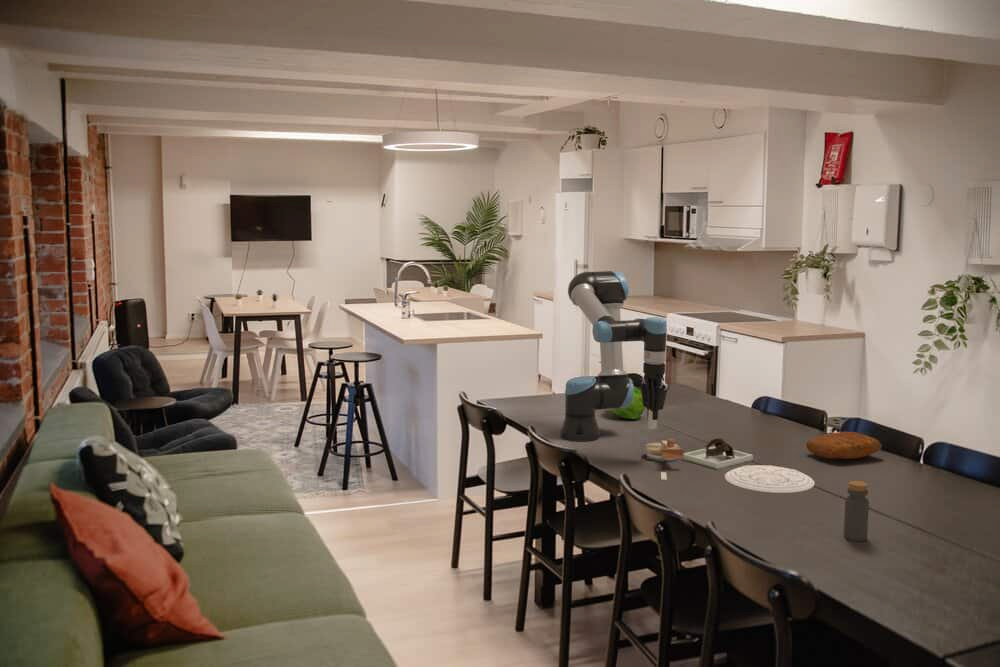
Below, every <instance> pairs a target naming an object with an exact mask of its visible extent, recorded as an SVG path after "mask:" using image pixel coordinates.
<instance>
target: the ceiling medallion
mask: <svg viewBox="0 0 1000 667" xmlns="http://www.w3.org/2000/svg"><path fill="white" fill-rule="evenodd" d="M724 479H725V480H726V481H727V482H728V483H729V484H732V485H733V486H736V487H739V488H742V489H745V490H748V491H754V492H760V493H761V492H762V493H769V494H770V493H772V494H792V493H794V494H795V493H801V492H805V491H809V490H810V489H813V488H814V486H815V480H814V479H813V478H812V477H811V476H809V475H807V474H805V473H803V472H801V471H799V470H797V469H793V468H787V467H782V466H775V465H771V464H768V465H764V464H763V465H757V464H754V465H748V464H747V465H742V466H740V467H736V468H733V469H731V470H728V472H726V473H725V474H724Z"/></svg>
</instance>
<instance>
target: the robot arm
mask: <svg viewBox="0 0 1000 667" xmlns="http://www.w3.org/2000/svg"><path fill="white" fill-rule="evenodd" d="M567 295H568V298H569V300H570V301H571V302H572V304H573V305H575V306H577V307H579V310H581V312H582V313H583V314H584V316H585V317H586V318H587V320H588V321H589V322H590V323H591V325H592V336H593V340H594V341H595V342H596V343H599V350H600V353H599V354H600V365H601V369H600V372H599V373H598V374H597V379H596V377H595V376H593V375H592V376H591V375H587V376H585V375H583V376H575V377H573V378H570V379H569V380H567V381H566V382H565V390H564V394H565V404H564V405H565V410H564V412H565V416H564V421H563V424H562V426H561V427H562V428H561V430H560V438H562V439H564V440H566V441H572V442H590V441H591V442H592V441H595V440H598V439H600V429H599V426H598V422H597V419H596V411H597V410H612V409H619V408H626V407H628V406H629V405H630V404H631V402H632V399H633V395H634V381H633V380H632V378H629V376H628V372H626V371H625V370H624V361H623V360H624V359H623V358H624V356H623V354H624V353H623V343H624V342H626V343H627V342H643V361H644V362H643V371H642V372H643V373H644V375H643V377H642V378H638V383H639V386H640V390H641V394H642V401H643V406H644V407H645V409H646V411H647V412H646V413H647V414H646V416H647V419H648V420H647V428H648V429H649V430H653V429H657V426H658V418H659V411H661V410H663V409H664V406H665V400H666V397H667V392H668V389H669V388H670V384H667V383H666V382H665V377H664V375H665V373H666V363H665V362H666V357H667V356H666V354H667V353H666V352H667V350H666V349H667V332H668V326H667V320H666V319H665V318H663V317H647V318H639V317H638V318H635V319H632V320H631V319H629V320H621V318H622V317H621V309H622V307H624V304H625V303H624V301H626V300H628V297H629V284H628V280H627V278H626V276H625V275H624V273H622V272H621V271H614V270H613V271H612V270H608V271H606V270H605V271H604V270H603V271H584V272H580V273H577V275H575V276H574V277H573V278H572V279H571V280H570V282H569V284H568V288H567Z"/></svg>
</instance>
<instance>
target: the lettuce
mask: <svg viewBox="0 0 1000 667" xmlns="http://www.w3.org/2000/svg"><path fill="white" fill-rule="evenodd" d="M645 410H646V407H644V406H643V401H642V394H641V388H640V389H639V388H638V387H636V386H634V395H633V399H632V402H631V404H630V405H629V406H628V407H626V408H619V409H611V411H612V412H613V413H615V415H616V416H617V417H619V418H623V419H627V420H638V419H639V418H640V416H641V415H642V414H643V413H644V411H645Z"/></svg>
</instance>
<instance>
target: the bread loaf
mask: <svg viewBox="0 0 1000 667" xmlns="http://www.w3.org/2000/svg"><path fill="white" fill-rule="evenodd" d="M880 442H881V441H879V440H878V439H876V438H874V437H871V436H869V435H866V434H864V433H859V432H856V431H845V430H844V431H840V432H839V431H837V432H833V433H828V434H823V435H820V436H818V437H815V438H813V439H810V440H808V441H807V442H806V448H807V450H808V451H809V452H810V453H811V454H814V455H815V456H818V457H821V458H824V459H825V458H826V459H829V460H830V459H831V460H835V459H839V460H843V459H844V460H847V459H848V460H849V459H851V460H853V459H860V458H863V457H867V456H869V455H872V454H875V453H877V452H878V451H879V452H880V450H881V449H882V443H880Z"/></svg>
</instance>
